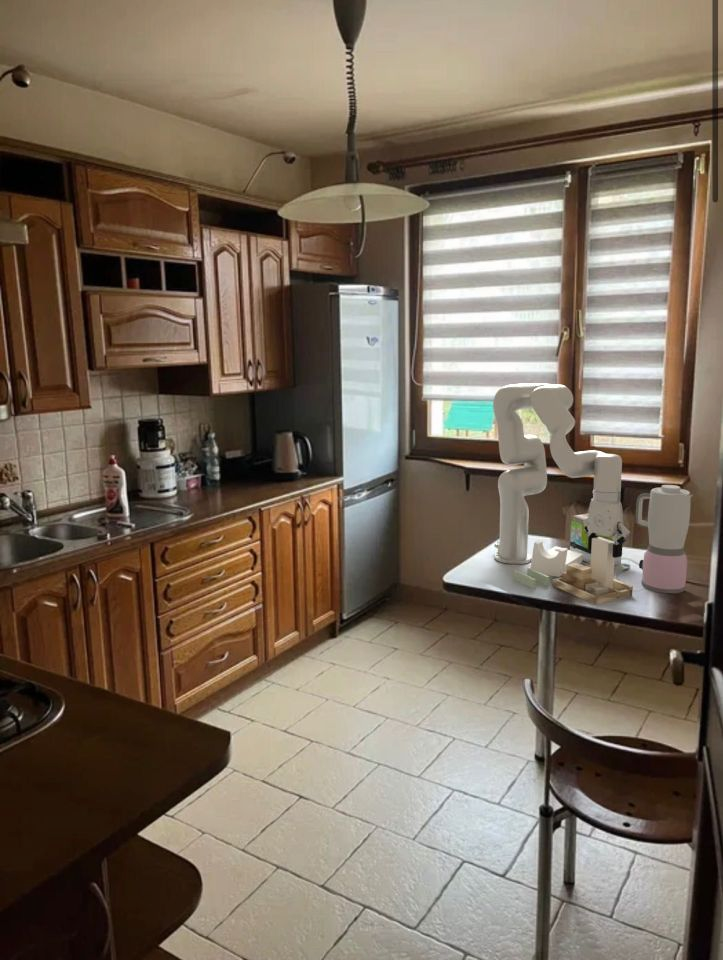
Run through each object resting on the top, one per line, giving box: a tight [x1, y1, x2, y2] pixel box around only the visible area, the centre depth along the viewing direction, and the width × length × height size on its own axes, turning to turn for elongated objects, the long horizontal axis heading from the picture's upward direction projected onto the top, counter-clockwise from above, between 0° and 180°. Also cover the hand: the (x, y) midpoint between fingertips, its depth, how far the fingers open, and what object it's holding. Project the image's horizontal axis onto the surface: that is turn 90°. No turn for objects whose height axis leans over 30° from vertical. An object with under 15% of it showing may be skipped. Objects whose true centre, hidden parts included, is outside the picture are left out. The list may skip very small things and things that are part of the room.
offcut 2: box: [561, 572, 595, 591], centre depth 213 cm, size 9×4×4 cm, turn 27°
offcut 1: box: [566, 563, 592, 580], centre depth 213 cm, size 6×4×3 cm, turn 35°
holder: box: [513, 567, 550, 590], centre depth 219 cm, size 10×8×4 cm
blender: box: [635, 484, 694, 594], centre depth 213 cm, size 16×12×32 cm
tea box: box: [569, 512, 624, 566], centre depth 243 cm, size 15×10×15 cm, turn 25°
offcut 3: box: [585, 583, 608, 596], centre depth 206 cm, size 5×4×4 cm
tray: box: [552, 576, 634, 605], centre depth 212 cm, size 18×14×4 cm
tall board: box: [589, 537, 615, 588], centre depth 212 cm, size 6×3×15 cm, turn 27°
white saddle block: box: [530, 540, 583, 578], centre depth 233 cm, size 18×10×10 cm, turn 141°
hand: (604, 552), depth 211 cm, fingers open, 9 cm apart
